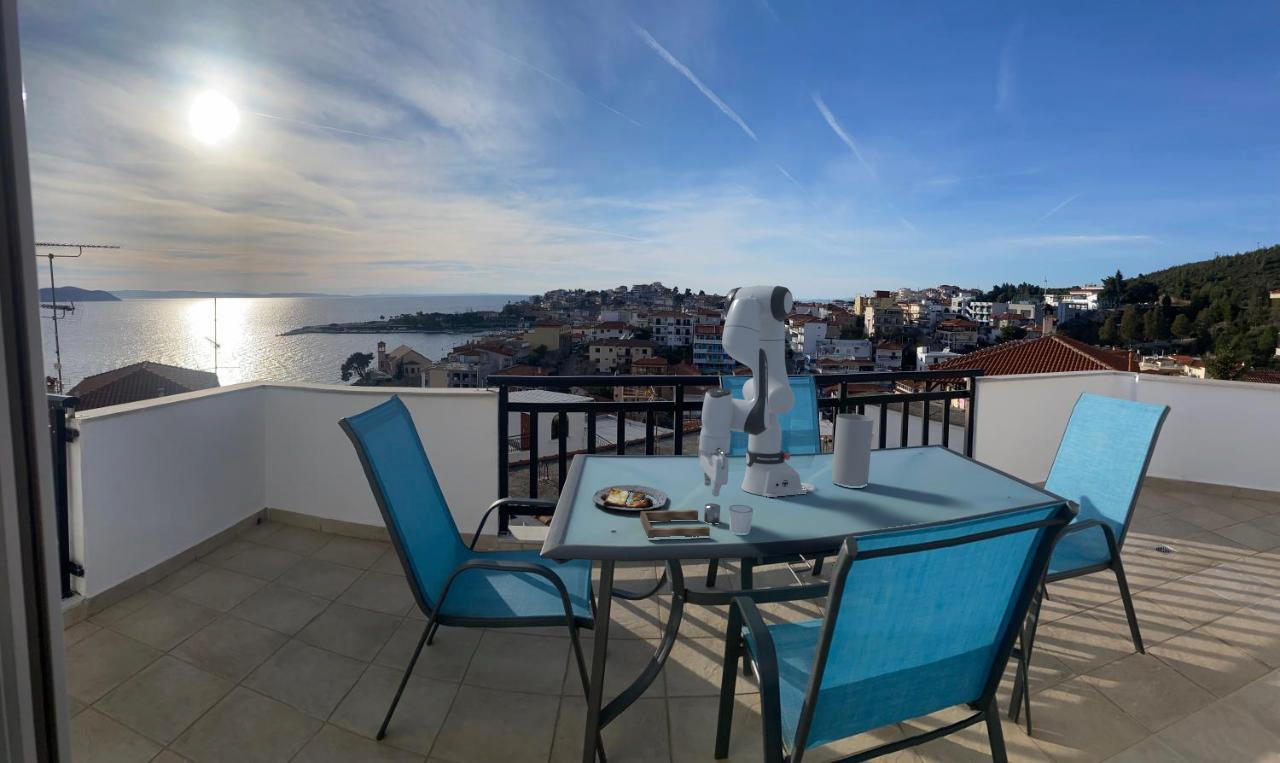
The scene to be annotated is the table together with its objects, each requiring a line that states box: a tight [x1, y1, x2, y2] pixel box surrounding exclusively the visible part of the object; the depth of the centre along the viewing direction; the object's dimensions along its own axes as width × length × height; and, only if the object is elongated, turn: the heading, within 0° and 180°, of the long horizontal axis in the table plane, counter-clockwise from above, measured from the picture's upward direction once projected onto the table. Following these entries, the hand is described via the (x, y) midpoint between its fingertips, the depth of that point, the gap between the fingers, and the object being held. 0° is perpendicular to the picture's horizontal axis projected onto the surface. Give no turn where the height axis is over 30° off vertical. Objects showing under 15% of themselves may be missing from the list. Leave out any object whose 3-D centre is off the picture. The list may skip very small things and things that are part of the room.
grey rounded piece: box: [703, 502, 721, 524], centre depth 177 cm, size 5×5×5 cm
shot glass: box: [728, 504, 754, 534], centre depth 170 cm, size 7×7×7 cm
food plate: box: [591, 484, 668, 512], centre depth 193 cm, size 25×23×4 cm
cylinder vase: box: [831, 413, 874, 486], centre depth 217 cm, size 12×12×25 cm
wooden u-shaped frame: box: [639, 509, 711, 538], centre depth 170 cm, size 17×14×3 cm
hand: (711, 490), depth 176 cm, fingers open, 8 cm apart
